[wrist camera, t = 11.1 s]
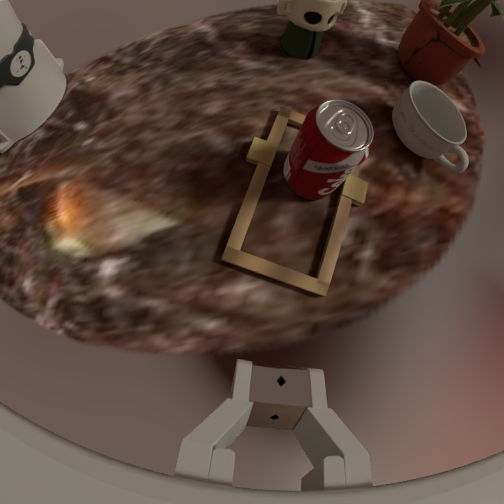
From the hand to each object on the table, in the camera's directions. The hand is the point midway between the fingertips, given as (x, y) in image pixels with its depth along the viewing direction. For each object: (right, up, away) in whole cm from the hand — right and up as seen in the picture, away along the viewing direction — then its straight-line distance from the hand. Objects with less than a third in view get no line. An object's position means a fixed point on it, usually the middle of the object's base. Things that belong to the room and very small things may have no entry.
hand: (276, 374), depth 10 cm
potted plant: (+28, +39, +32) cm, 58 cm away
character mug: (+7, +37, +29) cm, 47 cm away
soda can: (+6, +13, +25) cm, 29 cm away
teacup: (+24, +21, +28) cm, 43 cm away
